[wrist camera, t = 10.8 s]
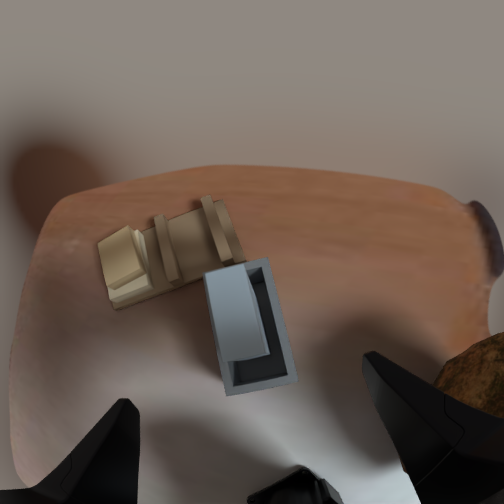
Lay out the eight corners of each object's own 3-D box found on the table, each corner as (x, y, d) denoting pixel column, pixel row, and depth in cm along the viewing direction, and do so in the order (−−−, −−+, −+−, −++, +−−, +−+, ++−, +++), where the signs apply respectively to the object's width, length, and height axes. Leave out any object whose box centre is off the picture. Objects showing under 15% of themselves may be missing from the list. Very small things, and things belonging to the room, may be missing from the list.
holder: (294, 376, 21) (298, 381, 17) (236, 388, 21) (226, 396, 17) (269, 275, 24) (267, 257, 20) (215, 288, 24) (202, 272, 20)
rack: (246, 261, 25) (241, 247, 22) (116, 310, 24) (97, 303, 21) (223, 202, 28) (217, 183, 25) (107, 250, 27) (90, 238, 24)
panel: (270, 354, 21) (264, 353, 12) (247, 359, 21) (222, 362, 12) (258, 303, 23) (243, 264, 14) (235, 308, 23) (205, 273, 14)
